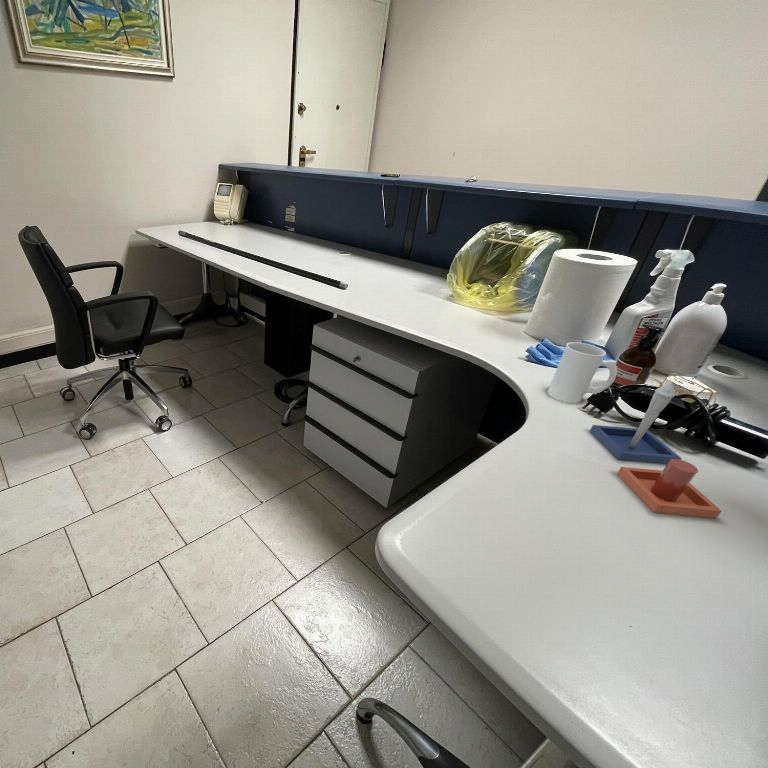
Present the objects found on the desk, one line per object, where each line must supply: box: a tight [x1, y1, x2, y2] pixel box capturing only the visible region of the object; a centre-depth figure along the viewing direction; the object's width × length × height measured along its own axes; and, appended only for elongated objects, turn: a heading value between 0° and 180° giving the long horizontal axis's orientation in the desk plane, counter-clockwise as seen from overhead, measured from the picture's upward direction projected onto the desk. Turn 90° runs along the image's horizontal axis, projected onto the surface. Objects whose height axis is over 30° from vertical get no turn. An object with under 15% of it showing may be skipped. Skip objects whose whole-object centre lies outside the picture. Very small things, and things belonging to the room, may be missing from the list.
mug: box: [547, 341, 618, 404], centre depth 88 cm, size 10×7×12 cm, turn 49°
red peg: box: [651, 459, 699, 502], centre depth 63 cm, size 3×3×6 cm
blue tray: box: [589, 424, 682, 465], centre depth 75 cm, size 10×9×2 cm
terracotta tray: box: [616, 466, 722, 519], centre depth 64 cm, size 9×9×2 cm
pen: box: [629, 381, 676, 449], centre depth 71 cm, size 2×3×14 cm
